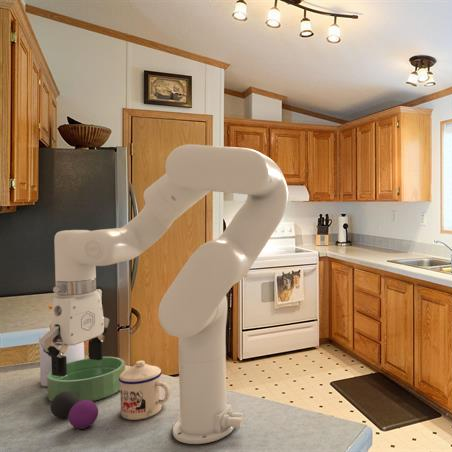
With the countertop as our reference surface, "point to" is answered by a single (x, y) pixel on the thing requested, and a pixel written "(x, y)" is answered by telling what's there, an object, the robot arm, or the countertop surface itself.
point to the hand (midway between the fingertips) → (78, 366)
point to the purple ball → (83, 414)
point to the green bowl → (88, 378)
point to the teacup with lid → (141, 391)
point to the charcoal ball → (63, 404)
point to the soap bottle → (71, 355)
